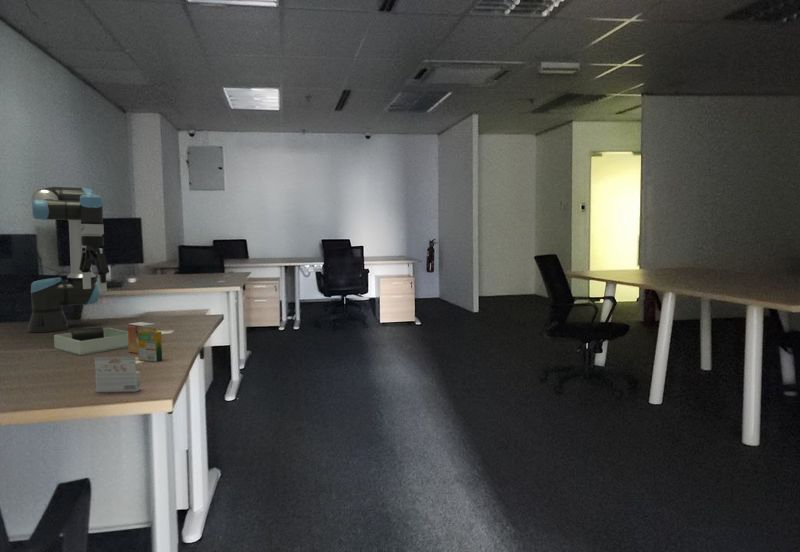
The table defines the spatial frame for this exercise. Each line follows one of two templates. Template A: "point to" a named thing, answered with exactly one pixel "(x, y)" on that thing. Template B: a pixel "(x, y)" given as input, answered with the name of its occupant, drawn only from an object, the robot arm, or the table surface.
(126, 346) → the organizer tray
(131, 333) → the small box
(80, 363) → the table surface
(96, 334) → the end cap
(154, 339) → the crayon box
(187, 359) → the table surface
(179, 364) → the table surface
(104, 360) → the ink cartridge box
